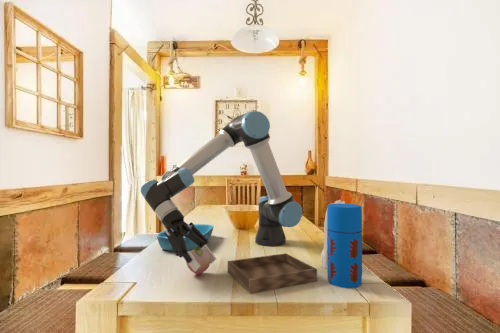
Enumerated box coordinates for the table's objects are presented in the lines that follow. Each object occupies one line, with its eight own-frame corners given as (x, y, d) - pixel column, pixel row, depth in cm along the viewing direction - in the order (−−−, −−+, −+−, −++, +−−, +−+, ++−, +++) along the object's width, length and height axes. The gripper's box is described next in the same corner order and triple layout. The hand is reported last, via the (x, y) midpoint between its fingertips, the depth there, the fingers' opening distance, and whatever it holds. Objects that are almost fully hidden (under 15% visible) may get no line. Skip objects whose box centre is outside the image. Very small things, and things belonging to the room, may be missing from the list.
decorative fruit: (215, 276, 106) (215, 247, 106) (193, 281, 102) (193, 250, 102) (204, 268, 114) (204, 241, 114) (182, 272, 110) (182, 244, 110)
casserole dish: (178, 235, 171) (178, 222, 171) (217, 235, 168) (217, 222, 168) (148, 253, 134) (148, 237, 134) (198, 255, 132) (198, 238, 132)
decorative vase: (334, 272, 110) (334, 202, 110) (315, 263, 119) (315, 199, 119) (357, 267, 115) (357, 200, 115) (336, 259, 124) (336, 197, 124)
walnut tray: (285, 263, 120) (285, 253, 120) (316, 281, 101) (316, 269, 101) (227, 272, 110) (227, 261, 110) (250, 293, 92) (250, 280, 92)
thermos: (361, 278, 104) (361, 204, 104) (362, 290, 94) (362, 208, 94) (328, 274, 108) (328, 202, 108) (325, 285, 98) (325, 206, 98)
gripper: (182, 217, 124) (216, 262, 117) (142, 227, 105) (179, 281, 98) (193, 205, 122) (228, 250, 115) (154, 212, 102) (193, 267, 95)
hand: (206, 264), depth 106 cm, fingers closed on decorative fruit, 9 cm apart
